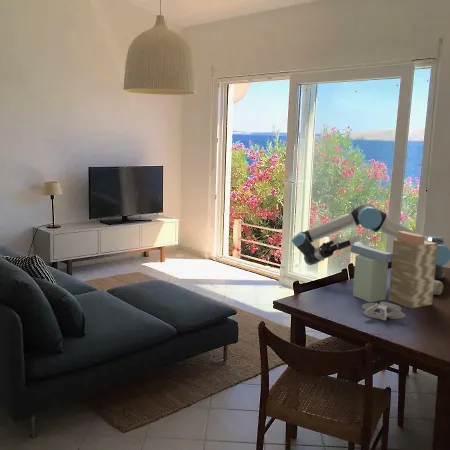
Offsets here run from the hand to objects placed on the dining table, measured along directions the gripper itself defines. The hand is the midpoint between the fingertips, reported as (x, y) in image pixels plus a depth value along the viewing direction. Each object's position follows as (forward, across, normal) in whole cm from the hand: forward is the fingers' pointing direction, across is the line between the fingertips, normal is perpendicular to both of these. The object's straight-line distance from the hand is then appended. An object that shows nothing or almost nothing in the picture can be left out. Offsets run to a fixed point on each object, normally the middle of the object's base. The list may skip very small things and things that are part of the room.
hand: (348, 238), depth 272 cm
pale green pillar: (+2, 0, -32) cm, 32 cm away
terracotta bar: (+29, -10, -13) cm, 33 cm away
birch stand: (+14, -13, -39) cm, 43 cm away
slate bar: (+12, 0, -13) cm, 18 cm away
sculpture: (+23, +15, -44) cm, 52 cm away
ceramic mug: (+9, -36, -36) cm, 52 cm away
